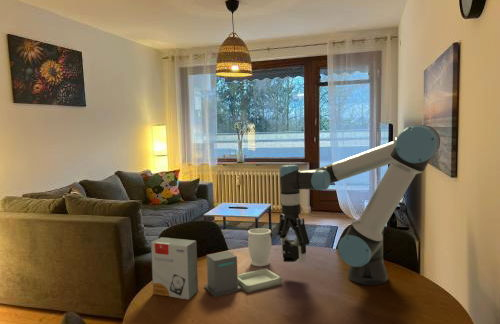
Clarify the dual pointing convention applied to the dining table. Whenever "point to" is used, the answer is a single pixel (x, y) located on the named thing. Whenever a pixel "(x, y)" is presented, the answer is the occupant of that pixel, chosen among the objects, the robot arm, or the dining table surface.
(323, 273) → the dining table surface
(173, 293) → the hard drive box
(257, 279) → the tray
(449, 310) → the dining table surface
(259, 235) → the jar
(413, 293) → the dining table surface
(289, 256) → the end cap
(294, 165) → the robot arm
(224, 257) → the unit
